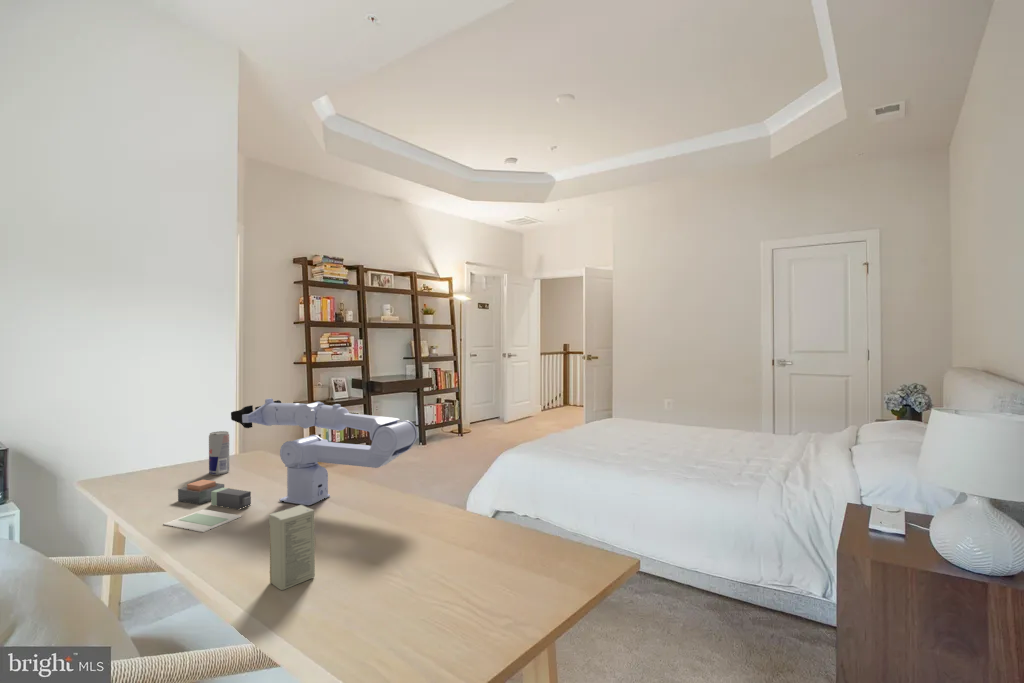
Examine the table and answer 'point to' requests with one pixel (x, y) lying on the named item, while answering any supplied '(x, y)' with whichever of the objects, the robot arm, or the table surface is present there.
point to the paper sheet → (202, 520)
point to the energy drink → (218, 452)
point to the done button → (201, 485)
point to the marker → (230, 498)
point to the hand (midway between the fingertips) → (244, 413)
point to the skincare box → (291, 546)
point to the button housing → (197, 494)
